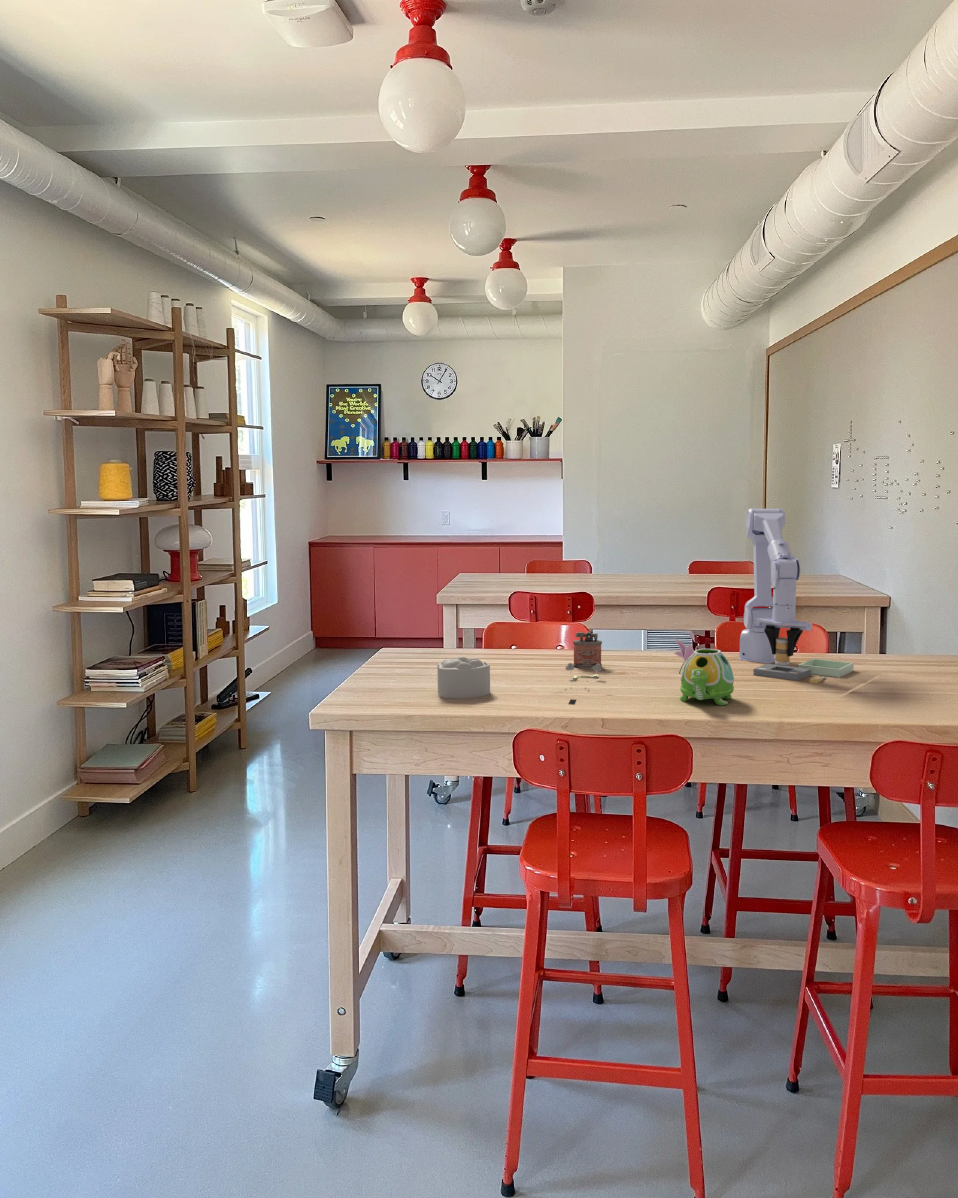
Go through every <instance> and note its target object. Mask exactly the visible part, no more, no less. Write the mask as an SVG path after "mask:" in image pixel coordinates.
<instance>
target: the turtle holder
mask: <svg viewBox="0 0 958 1198" xmlns="http://www.w3.org/2000/svg"><path fill="white" fill-rule="evenodd" d="M679 678H680V682H681V683H680V684H681V685H680V687H679V689H680V692H681V694H682V695H681V696H680V698H679V700H680V701H681V702H685V703H686V702H687V701H688V700H689V698H695V699H696V700H699V701H703V700H710V699H713V702H714V703H715V704H716V705H717V706H727V705H728V704H729V702H728V701H727V700H730V699H732V693H733V692H734V691H735V690H734V689H735V688H734V681H735V677H734V674H733V670H732V666H731V664H730V662H729V660H728V659H727V657H726V656H725V655H724V654H723V653H722V651H721V650H720V649H715V648H699V649H696V650H694V654H692V655H691V656H690V657H689V658H688V660H687V661H686V662H685V663H684V665H683V667H682V669H681V676H680V677H679ZM723 698H724V699H725V700H724V699H723Z"/></svg>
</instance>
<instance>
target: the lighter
mask: <svg viewBox="0 0 958 1198" xmlns="http://www.w3.org/2000/svg"><path fill="white" fill-rule="evenodd" d="M575 637H576V638H579V639H574V640H573V641H572V643H573V663H572V664H573V666H574V669H592V668H593V666H596V664H600V665H601V668H603V666H602V665H603V663H602V645H603V641H602V640H600V639H599V640H598V633H597V632H595V633H594V632H591V631H586V632H579V631H578V632H577V631H576V633H575Z"/></svg>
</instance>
